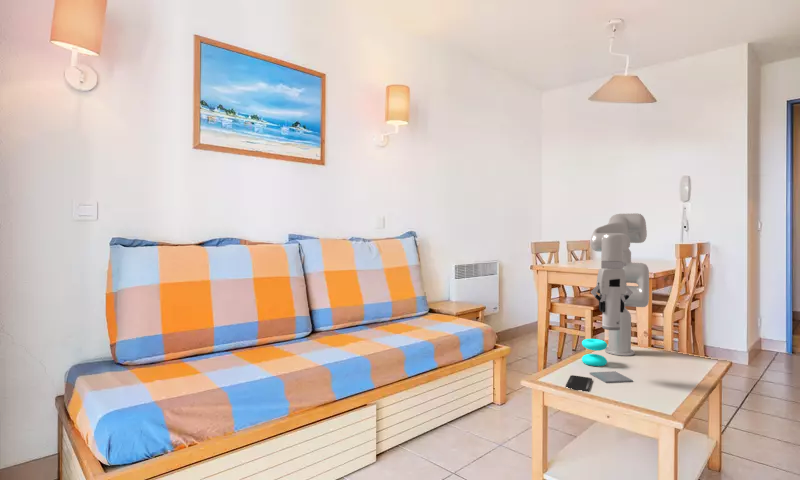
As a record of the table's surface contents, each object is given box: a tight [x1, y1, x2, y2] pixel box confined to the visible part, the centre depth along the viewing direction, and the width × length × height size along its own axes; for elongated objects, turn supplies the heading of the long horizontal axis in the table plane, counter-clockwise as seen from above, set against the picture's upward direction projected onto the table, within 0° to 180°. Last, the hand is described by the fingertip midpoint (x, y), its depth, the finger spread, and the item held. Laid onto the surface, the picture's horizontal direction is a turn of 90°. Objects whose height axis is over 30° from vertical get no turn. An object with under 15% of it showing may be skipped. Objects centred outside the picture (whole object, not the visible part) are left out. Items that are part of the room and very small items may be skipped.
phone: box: [565, 374, 593, 392], centre depth 170 cm, size 8×1×15 cm
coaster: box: [589, 370, 634, 384], centre depth 177 cm, size 11×11×1 cm
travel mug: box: [601, 279, 621, 331], centre depth 177 cm, size 6×7×20 cm
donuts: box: [581, 338, 608, 367], centre depth 196 cm, size 10×10×10 cm
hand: (611, 311), depth 177 cm, fingers closed on travel mug, 6 cm apart
